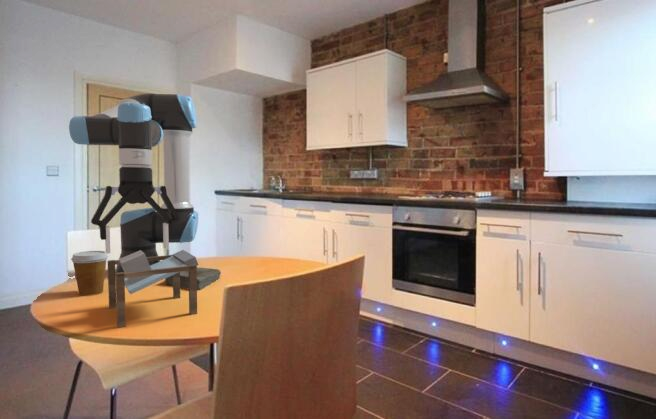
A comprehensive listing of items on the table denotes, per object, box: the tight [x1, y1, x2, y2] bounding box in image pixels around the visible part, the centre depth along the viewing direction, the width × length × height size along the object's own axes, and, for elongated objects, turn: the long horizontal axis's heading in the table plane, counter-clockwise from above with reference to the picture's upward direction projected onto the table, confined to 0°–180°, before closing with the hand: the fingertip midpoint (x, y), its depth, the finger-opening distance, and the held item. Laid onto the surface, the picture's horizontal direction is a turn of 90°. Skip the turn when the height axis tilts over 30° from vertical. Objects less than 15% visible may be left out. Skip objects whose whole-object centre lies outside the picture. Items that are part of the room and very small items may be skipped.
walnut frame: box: [107, 253, 198, 329], centre depth 105 cm, size 18×18×13 cm
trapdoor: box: [124, 249, 199, 295], centre depth 106 cm, size 15×17×2 cm
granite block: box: [118, 250, 152, 285], centre depth 103 cm, size 6×6×6 cm
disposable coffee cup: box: [70, 250, 109, 296], centre depth 121 cm, size 10×10×12 cm
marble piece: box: [164, 267, 222, 291], centre depth 134 cm, size 17×15×4 cm
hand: (138, 250), depth 103 cm, fingers open, 13 cm apart
